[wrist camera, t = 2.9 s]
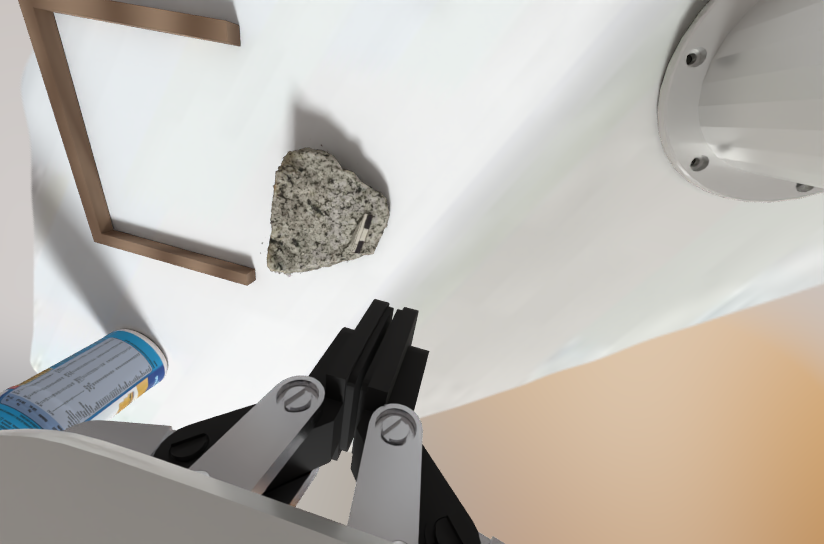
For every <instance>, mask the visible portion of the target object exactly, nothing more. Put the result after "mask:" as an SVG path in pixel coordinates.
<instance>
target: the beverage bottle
mask: <svg viewBox="0 0 824 544" xmlns="http://www.w3.org/2000/svg"><path fill="white" fill-rule="evenodd" d="M167 370H168V366H167V361H166V359H165V357H164V355H163V353H162V352H161V350H160V349H159V348H158V347H157V346H156V345H155V344H154V343H153V342H152V341H151V340H150V339H148V338H147V337H146V336H144V335H142V334H140V333H138V332H136V331H133V330H128V329H120V330H116V331H113V332H112V333H110V334H108V335H106V336H105V337H103V338H102V339H100V340H98V341H96V342H95V343H93V344H91V345H89V346H88V347H86V348H84V349H82V350H80V351H79V352H77V353H75V354H73V355H71V356H70V357H68V358H66V359H64V360H62V361H61V362H59V363H57V364H55V365H53V366H51V367H50V368H48V369H46V370H44V371H42V372H41V373H39V374H37V375H35V376H33V377H31V378H30V379H28V380H26V381H24V382H23V383H21V384H19V385H16V386H13V387H10V388H8V389H6V390H4V391H3V392H1V393H0V430H11V429H47V430H58V431H63V430H65V429H67V428H69V427H71V426H73V425H75V424H79V423H82V422H86V421H92V420H105V421H109V420H110V419H111V418H113V417H114V416H115V415H116V414H118V413H119V412H120V411H121V410H123V409H124V408H125V407H126V406H128V405H129V404H130V403H132V402H133V401H134V400H135V399H137V398H138V397H139V396H140V395H142V394H143V393H144V392H146V391H147V390H149V389H150V388H151V387H153V386H155V385H156V384H157V383H159V382H160V381H161V380H162V379H163V378H164V377H165V376H166V374H167Z"/></svg>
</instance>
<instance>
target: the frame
mask: <svg viewBox="0 0 824 544" xmlns="http://www.w3.org/2000/svg"><path fill="white" fill-rule="evenodd" d="M18 1H19V4H20V8H21V11H22V14H23V17H24V20H25V23H26V26H27V30H28V33H29V36H30V39H31V42H32V46H33V49H34V52H35V55H36V58H37V62H38V65H39V68H40V71H41V74H42V77H43V81H44V84H45V87H46V90H47V93H48V96H49V100H50V103H51V106H52V109H53V112H54V116H55V119H56V122H57V125H58V128H59V131H60V135H61V138H62V141H63V144H64V147H65V150H66V154H67V157H68V160H69V163H70V166H71V170H72V173H73V176H74V179H75V182H76V185H77V189H78V192H79V195H80V198H81V201H82V204H83V208H84V211H85V214H86V217H87V220H88V224H89V227H90V230H91V233H92V236H93V239H94V242H97V243H100V244H104V245H107V246H111V247H114V248H118V249H121V250H125V251H128V252H132V253H135V254H139V255H142V256H145V257H149V258H152V259H156V260H159V261H163V262H166V263H170V264H173V265H177V266H180V267H184V268H187V269H191V270H194V271H198V272H201V273H205V274H208V275H212V276H215V277H219V278H222V279H226V280H229V281H233V282H236V283H240V284H243V285H247V286H248V285H249V284H251V283H252V282H254V281H255V280H256V278H255V269H252V268H249V267H245V266H242V265H238V264H234V263H231V262H227V261H224V260H220V259H216V258H213V257H209V256H206V255H202V254H198V253H195V252H191V251H188V250H184V249H181V248H177V247H173V246H170V245H166V244H163V243H159V242H155V241H152V240H148V239H145V238H141V237H137V236H134V235H130V234H127V233H123V232H119V231H116V230H114V229H113V226H112V222H111V219H110V215H109V211H108V208H107V204H106V201H105V197H104V193H103V190H102V186H101V183H100V179H99V176H98V172H97V168H96V165H95V161H94V158H93V154H92V150H91V147H90V143H89V140H88V136H87V133H86V129H85V125H84V122H83V118H82V115H81V111H80V107H79V104H78V100H77V97H76V93H75V90H74V86H73V82H72V79H71V75H70V72H69V68H68V64H67V61H66V57H65V54H64V50H63V47H62V43H61V39H60V36H59V32H58V29H57V25H56V21H55V18H54V14H53V12H56V13H61V14H66V15H72V16H77V17H83V18H88V19H94V20H99V21H105V22H110V23H115V24H121V25H126V26H132V27H137V28H143V29H148V30H154V31H159V32H165V33H170V34H175V35H181V36H186V37H192V38H197V39H203V40H208V41H214V42H219V43H224V44H230V45H235V46H240V31H239V25H237V24H234V23H231V22H229V21H225V20H220V19H214V18H208V17H202V16H197V15H191V14H185V13H179V12H174V11H168V10H162V9H156V8H150V7H145V6H139V5H133V4H127V3H122V2H116V1H110V0H18Z"/></svg>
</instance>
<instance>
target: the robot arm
mask: <svg viewBox="0 0 824 544" xmlns="http://www.w3.org/2000/svg"><path fill="white" fill-rule="evenodd" d="M687 55H691V56H692V61H691V63H690V64H689V65H687V63H686V58H687ZM657 117H658V131H659V136H660V140H661V143H662V146H663V149H664V152H665V154H666V156H667V157H668V159H669V161H670V162H671V164H672V165H673V167H674V169H676V170H677V171H678V172H679V173H680V174H681V175H682V176H683V177H684V178H685V179H686V180H687V181H688V182H690V183H692V184H694V185H695V186H697V187H699V188H701V189H702V190H704V191H707V192H710V193H713V194H715V195H718V196H721V197H724V198H729V199H734V200H738V201H743V202H767V203H770V202H779V201H787V200H796V199H800V198H804V197H808V196H812V195H816V194H820V193H823V192H824V0H710V1H709V2H708V3H707V5H706V6H705V7H704V8H703V9H702V10H701V11H700V12H699V14H698V15H697V17H696V18H695V20H694V21H693V23H692V24H691V25H690V27H689V28H688V30H687V31H686V33H685V34H684V35H683V37H682V38H681V40H680V42H679V44H678V46H677V48H676V50H675V52H674V54H673V56H672V58H671V60H670V62H669V64H668V67H667V70H666V73H665V76H664V80H663V83H662V86H661V89H660V96H659V103H658V110H657ZM694 158H695V159H696V161H695V163H694V164H693V165H691V162H692V160H693V159H694ZM690 165H691V166H690ZM393 310H394V308H392V307H389V303H388V302H384V301H381V300H377V299H374V300H373V302H372V303H371V305H370V307H369V308H368V310H367V311H366V313H365V314H364V316H363V317H362V319H361V321H360V322H359V324H358V325H357V327H356V328H355V330H353V329H349V328H346V327H344V328H342V330H341V331H340V332H339V334H338V335H337V336H336V338H335V339H334V341H333V342H332V343H331V345H330V346H329V348H328V349H327V351H326V352H325V353H324V355H323V356H322V358H321V359H320V360H319V362H318V363H317V365H316V366H315V368H314V369H313V370H312V372H311V373H310V375H309V376H294V377H290V378H287V379H285V380H283V381H281V382H280V383H279V384H277V385H276V386H275V387H274V388H273V389H272V390H271V391H270V392H269V393H268V394H267V395H266V396H264V397H263V398H262V399H261V400H260V401H259V402H258V403H257V404H254V405H251V406H248V407H245V408H241V409H238V410H235V411H232V412H229V413H225V414H222V415H219V416H216V417H213V418H210V419H206V420H203V421H200V422H197V423H194V424H191V425H188V426H185V427H183V428H181V429H178V430H177V431H176V430H172V427H171V426H165V425H153V424H141V423H129V422H117V421H105V420H92V421H86V422H82V423H79V424H75V425H73V426H71V427H69V428H67V429H65V430H63V431H58V430H47V429H11V430H0V544H504V543H503V542H501V541H500V540H498V539H497V538H495V537H492V539H491V540H490V539H489V538H487V537H486V536H484V535H483V534H481V533H479V532H478V531H477V529H476V527H475V525H474V523H473V521H472V519H471V518H470V516H469V515H468V513H467V512H466V510H465V509H464V507H463V506H462V504H461V502H460V501H459V499H458V498H457V496H456V495H455V493H454V492H453V490H452V489H451V487H450V486H449V484H448V483H447V481H446V480H445V478H444V476H443V475H442V473H441V472H440V470H439V469H438V467H437V466H436V464H435V463H434V461H433V460H432V458H431V457H430V455H429V454H428V452H427V450H426V449H425V447H424V446H423V444H422V433H423V430H422V423H421V421H420V419H419V417H418V415H417V414H416V413H415V412H414V409H415V405H416V401H417V397H418V393H419V389H420V385H421V381H422V377H423V373H424V370H425V366H426V362H427V358H428V354H429V351H427V350H424V349H420V348H416V347H413V346H411V344H412V339H413V335H414V330H415V326H416V321H417V316H418V310H414V309H410V308H407V307H404V308H403V310H399V309H397V311H396V313H395V315H394V317H393V319H392V316H393ZM353 438H354V440H353ZM352 440H353V447H352V454H353V456H352V463H351V470H352V473H353V475H354V477H355V480H356V487H355V492H354V497H353V501H352V506H351V511H350V516H349V520H348V525H347V526H346V525H343V524H341V523H338V522H335V521H332V520H330V519H327V518H324V517H321V516H318V515H316V514H313V513H310V512H307V511H304V510H302V509H299V508H296V505H297V504H298V502H299V501H300V499H301V498H302V496H303V495H304V493H305V492H306V490H307V489H308V487H309V486H310V484H311V482H312V481H313V480H314V478H315V476H316V475H317V472H318V470H319V467H320V466H322V465H325V464H327V463H329V462H330V461H331V459H333V460H337V459H338V458H339V455H340V453H341V451H342V450H343V451H346V452H347V451H348V449H349V447H350V445H351V443H352Z"/></svg>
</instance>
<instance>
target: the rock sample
mask: <svg viewBox="0 0 824 544" xmlns="http://www.w3.org/2000/svg"><path fill="white" fill-rule="evenodd" d="M321 146H322V145H321ZM322 147H323V146H322ZM283 158H284V159H283V161H282V163H281V166H279V167H278V171H276V175H275V185H274V186H273V187H274V195H273V201H272V209H271V212H272V214H271V219H270V221H271V222H270V223H271V224H272V233H271V237H270V241H269V247H268V254H267V267H268V268H269V269H270V271H274V272H275V273H276V272H277V273H279V274H280V273H281V272H284V274H286V275H287V276H288V277H290V276H291V273H293V272H307V271H311V270H315V269H319V268H321V267H330V266H332V265H334V264H337V263H340V262H342V261H347V262H348V260H353V259H356V258H359V257H361V256H363V255H371V254H374V251H375V249H376V247H377V245H378V242H379V240H380V238H381V236H382V234H383V231H384V229H385V228H386V227H387V222H388V218H389V209H388V204H387V203H386V202H387V199H386V197H385V196H384V195H382V194H381V192H378V191H375V190H373V189H372V188H371V187H370V186H368V185H366V184H364V183H362V182H361V181H360V180H359V178H358V177H357V175H356V174H355V173H354V172H352V171H349V170H346V169H343V168H342V167H341V166H340V164H339V163H338V161H337V160H336V158H335V157H334V156H333V155H332V154H329V153H328V152H325V151H323V150H315V149H311V148H303V149H300V150H295V151H293V152H291V151H289V152H288V153H287V155H286V156H285V157H283ZM354 170H355V169H354ZM262 244H263V242H262ZM260 254H261V253H260Z"/></svg>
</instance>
